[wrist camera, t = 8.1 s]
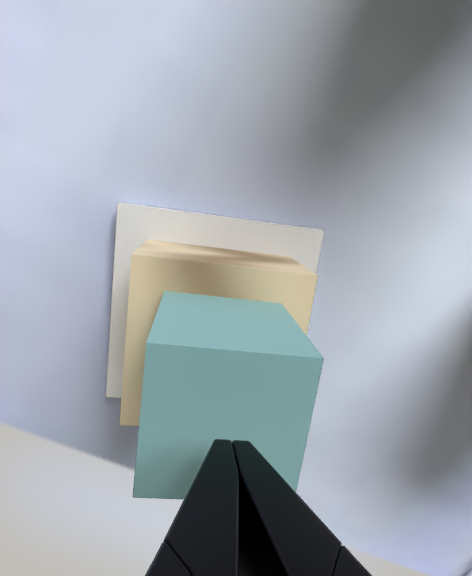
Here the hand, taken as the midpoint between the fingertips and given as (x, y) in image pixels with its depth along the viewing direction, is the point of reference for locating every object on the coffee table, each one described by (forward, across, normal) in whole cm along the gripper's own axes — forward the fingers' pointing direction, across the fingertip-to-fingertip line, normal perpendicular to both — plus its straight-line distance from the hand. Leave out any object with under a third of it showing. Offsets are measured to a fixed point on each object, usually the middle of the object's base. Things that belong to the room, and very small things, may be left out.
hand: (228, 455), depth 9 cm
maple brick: (+10, 0, 0) cm, 10 cm away
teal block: (+6, 0, 0) cm, 6 cm away
